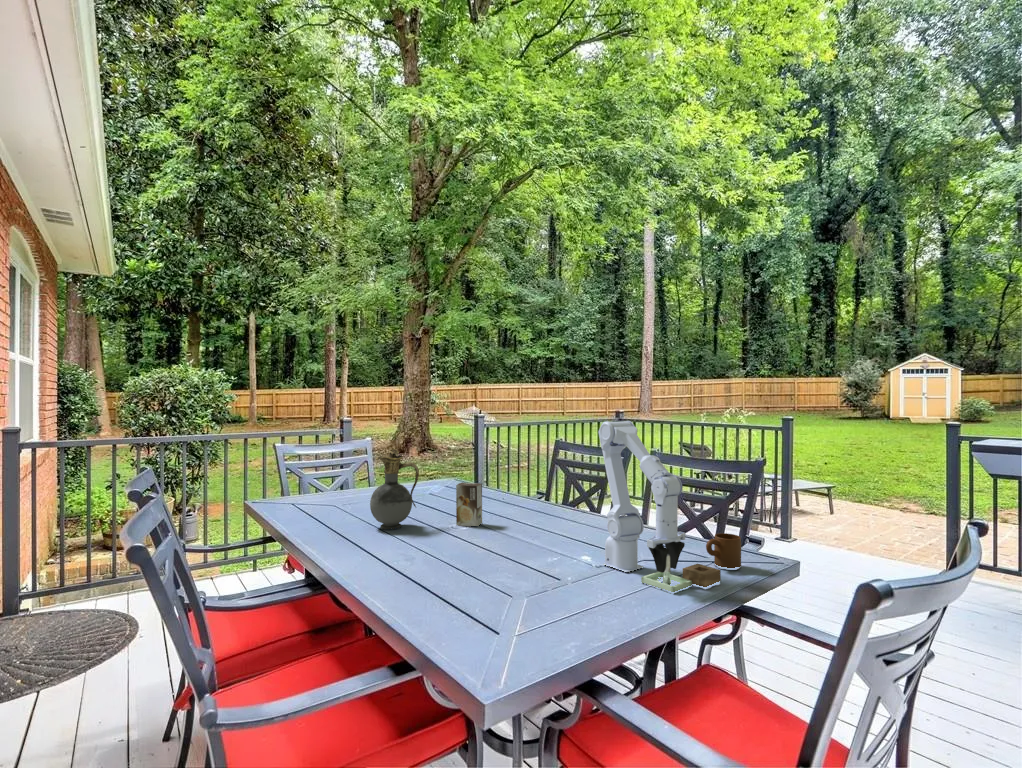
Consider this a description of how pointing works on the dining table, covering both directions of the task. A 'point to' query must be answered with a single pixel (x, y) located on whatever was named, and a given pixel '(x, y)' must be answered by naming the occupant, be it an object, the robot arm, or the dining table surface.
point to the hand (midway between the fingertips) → (666, 569)
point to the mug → (725, 550)
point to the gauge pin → (667, 571)
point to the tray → (653, 581)
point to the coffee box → (468, 504)
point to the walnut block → (702, 575)
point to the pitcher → (392, 493)
